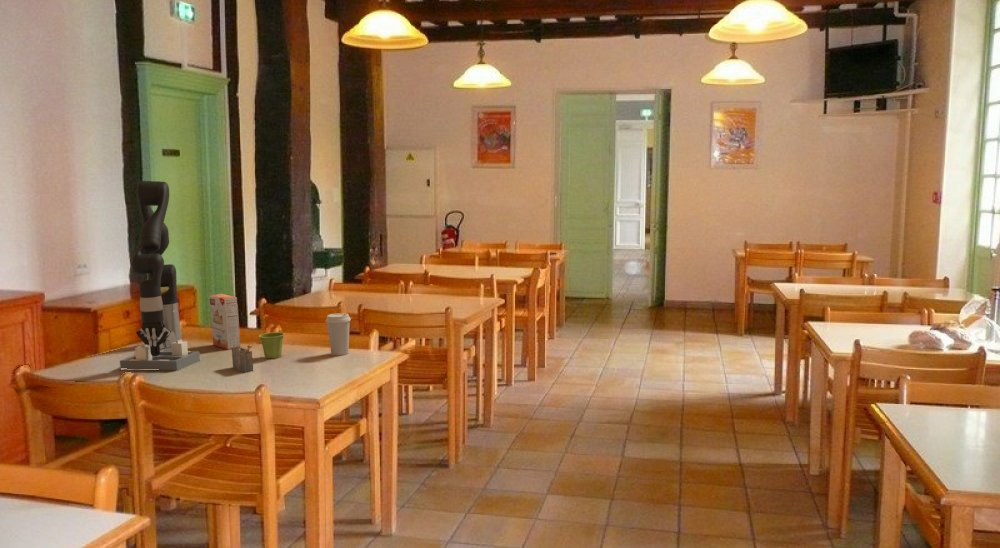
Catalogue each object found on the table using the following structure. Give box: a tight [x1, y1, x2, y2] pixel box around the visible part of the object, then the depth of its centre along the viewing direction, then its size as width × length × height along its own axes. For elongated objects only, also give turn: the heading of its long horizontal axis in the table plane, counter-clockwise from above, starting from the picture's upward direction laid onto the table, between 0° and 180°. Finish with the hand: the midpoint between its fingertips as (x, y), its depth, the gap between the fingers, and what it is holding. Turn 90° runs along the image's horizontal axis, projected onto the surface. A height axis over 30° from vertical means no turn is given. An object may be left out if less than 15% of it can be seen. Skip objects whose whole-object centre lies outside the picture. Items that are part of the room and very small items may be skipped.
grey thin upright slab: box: [231, 344, 254, 373], centre depth 294 cm, size 11×3×10 cm, turn 41°
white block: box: [171, 338, 189, 355], centre depth 306 cm, size 4×4×7 cm
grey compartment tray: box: [119, 350, 201, 371], centre depth 304 cm, size 16×22×4 cm
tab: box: [134, 343, 152, 360], centre depth 300 cm, size 4×4×7 cm
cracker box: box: [209, 293, 242, 351], centre depth 333 cm, size 14×6×21 cm, turn 42°
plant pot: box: [258, 331, 285, 360], centre depth 312 cm, size 9×9×9 cm
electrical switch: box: [160, 332, 176, 351], centre depth 320 cm, size 9×5×9 cm, turn 134°
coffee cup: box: [325, 312, 352, 357], centre depth 315 cm, size 10×10×15 cm
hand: (155, 355), depth 299 cm, fingers closed
